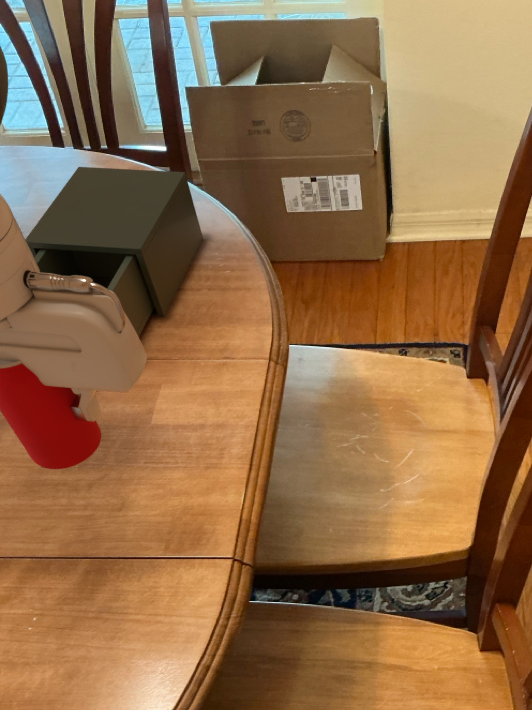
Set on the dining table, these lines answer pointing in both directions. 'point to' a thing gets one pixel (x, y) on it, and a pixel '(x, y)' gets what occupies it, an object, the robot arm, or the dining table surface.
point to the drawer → (105, 277)
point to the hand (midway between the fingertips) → (46, 411)
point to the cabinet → (127, 223)
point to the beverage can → (45, 419)
